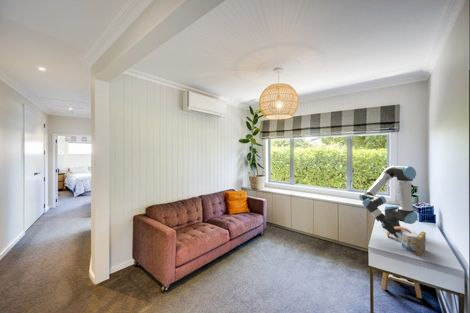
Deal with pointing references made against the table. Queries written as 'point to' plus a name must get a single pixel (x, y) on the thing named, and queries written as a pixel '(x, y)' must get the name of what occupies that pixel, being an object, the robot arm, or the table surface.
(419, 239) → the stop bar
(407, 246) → the ink box
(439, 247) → the table surface
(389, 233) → the arch
